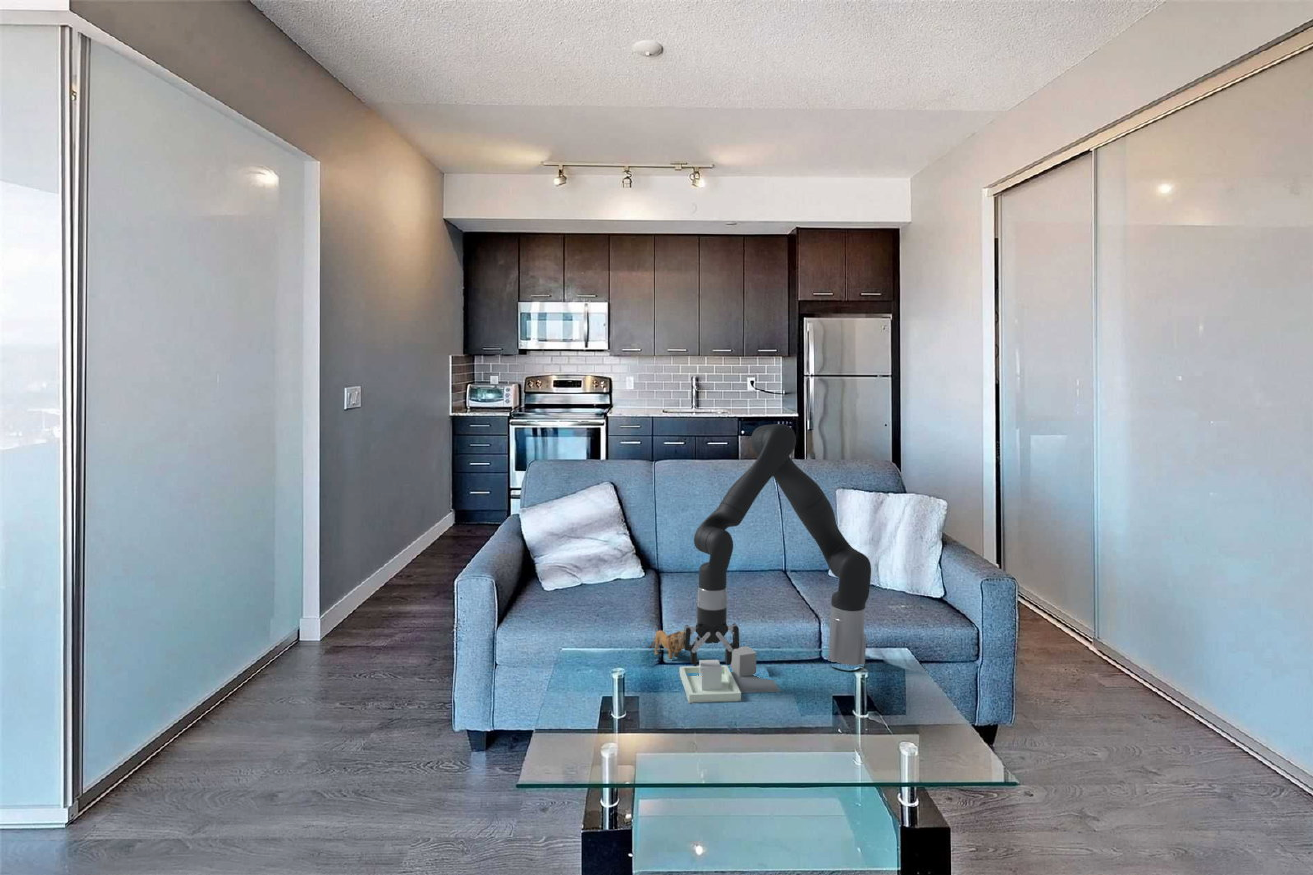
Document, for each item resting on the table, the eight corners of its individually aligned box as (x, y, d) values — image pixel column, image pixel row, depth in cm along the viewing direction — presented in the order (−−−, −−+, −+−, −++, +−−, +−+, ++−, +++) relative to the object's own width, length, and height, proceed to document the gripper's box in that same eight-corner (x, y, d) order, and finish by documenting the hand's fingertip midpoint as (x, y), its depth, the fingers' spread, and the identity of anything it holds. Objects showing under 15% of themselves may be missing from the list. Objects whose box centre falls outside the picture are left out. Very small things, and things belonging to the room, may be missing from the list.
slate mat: (764, 667, 214) (765, 666, 214) (780, 693, 198) (780, 691, 198) (725, 668, 213) (726, 667, 213) (738, 694, 197) (738, 692, 197)
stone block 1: (717, 681, 203) (718, 659, 202) (721, 690, 198) (721, 667, 197) (698, 682, 202) (699, 660, 202) (701, 690, 197) (702, 668, 197)
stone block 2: (746, 667, 213) (747, 646, 212) (755, 674, 208) (756, 653, 208) (730, 669, 211) (731, 648, 210) (739, 676, 207) (740, 655, 206)
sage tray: (726, 673, 209) (727, 665, 209) (740, 702, 192) (741, 693, 192) (679, 675, 208) (679, 666, 207) (689, 704, 191) (689, 694, 191)
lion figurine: (692, 661, 217) (693, 630, 216) (680, 667, 213) (680, 635, 212) (654, 647, 227) (654, 617, 226) (641, 652, 223) (642, 622, 222)
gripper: (736, 598, 202) (734, 657, 204) (682, 600, 200) (681, 659, 202) (742, 608, 194) (741, 669, 196) (686, 609, 193) (685, 671, 195)
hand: (710, 664), depth 199 cm, fingers open, 8 cm apart
